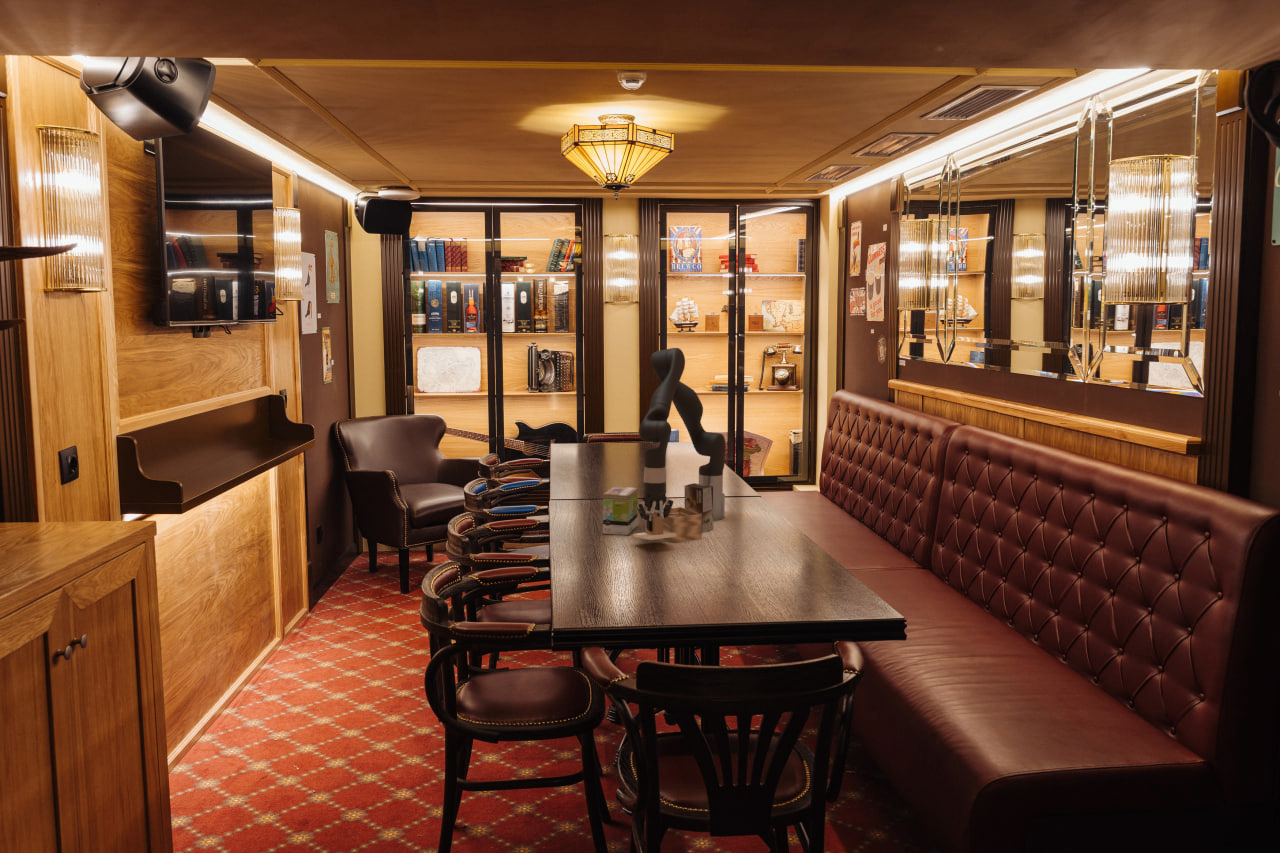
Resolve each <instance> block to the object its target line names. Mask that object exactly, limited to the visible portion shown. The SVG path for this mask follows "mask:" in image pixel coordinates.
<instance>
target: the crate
mask: <svg viewBox="0 0 1280 853" xmlns="http://www.w3.org/2000/svg"><path fill="white" fill-rule="evenodd" d="M653 515H657V513H656V511H655V510H654V514H653ZM663 532H670V533H676V537H669V538H662V540H665V541H666V542H670V543H672V544H673V543H682V542H687V541H689V542H690V541H696V540H702V538H703V536H702V535H703V532H702V514H699V513H696V512H693V511H691V510H688V509H685V507H682V506H680V507H679V506H678V507H672V508H671V510H670V513H669V515H668V517H665V518H664V519H663Z"/></svg>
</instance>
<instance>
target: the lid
mask: <svg viewBox="0 0 1280 853" xmlns="http://www.w3.org/2000/svg"><path fill="white" fill-rule="evenodd" d="M644 530H645V532H638V533H632V537H633V538H637V539H643V540H648V541H652V540H661V539H662V538H669V537H676V533H670V532H663V518H662V516H657V515H653V518H652V532H649V531H648V530H647V528H646V520H645V519H644ZM662 540H663V539H662Z"/></svg>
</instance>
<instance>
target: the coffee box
mask: <svg viewBox="0 0 1280 853" xmlns="http://www.w3.org/2000/svg"><path fill="white" fill-rule="evenodd" d="M683 487H684V508H685V509H688V510H691V511H693V512H696V513H699V514H702V533H705V532H708V531H711V530H714V520H713V486H708V485H702V484H699V483H694V482H693V483H690V484H687V485H684V486H683Z"/></svg>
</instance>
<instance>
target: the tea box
mask: <svg viewBox="0 0 1280 853" xmlns="http://www.w3.org/2000/svg"><path fill="white" fill-rule="evenodd" d="M602 499H603V503H602V504H603V505H602V506H603V507H602V509H603V510H602V534H604V535H605V534H607V535H617V536H618V535H619V536H620V535H622V536H628V535H630V534H631V533H632V532H633V530H635V528H637V526H638V513H639V511H638V509H637V506H636V503H639V501H638V500H639V489H638V488H637V487H629V486H628V487H626V486H612V487H611V488H609V489H608V490H606V492H604V493H603V498H602Z"/></svg>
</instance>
